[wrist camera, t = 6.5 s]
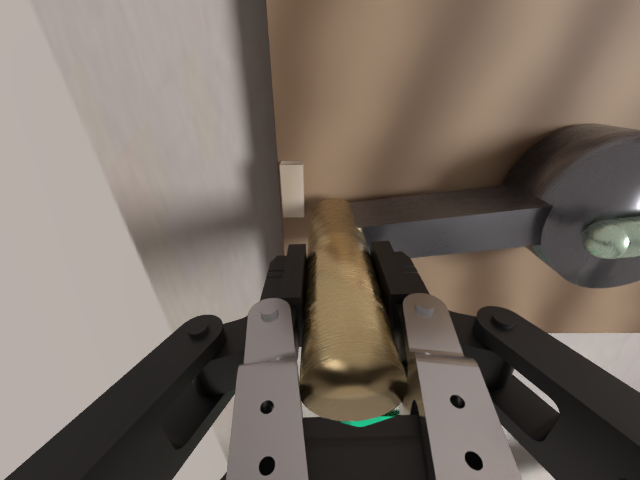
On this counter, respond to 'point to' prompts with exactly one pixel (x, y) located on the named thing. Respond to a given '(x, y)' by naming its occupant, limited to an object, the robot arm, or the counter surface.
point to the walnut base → (451, 122)
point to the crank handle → (460, 237)
